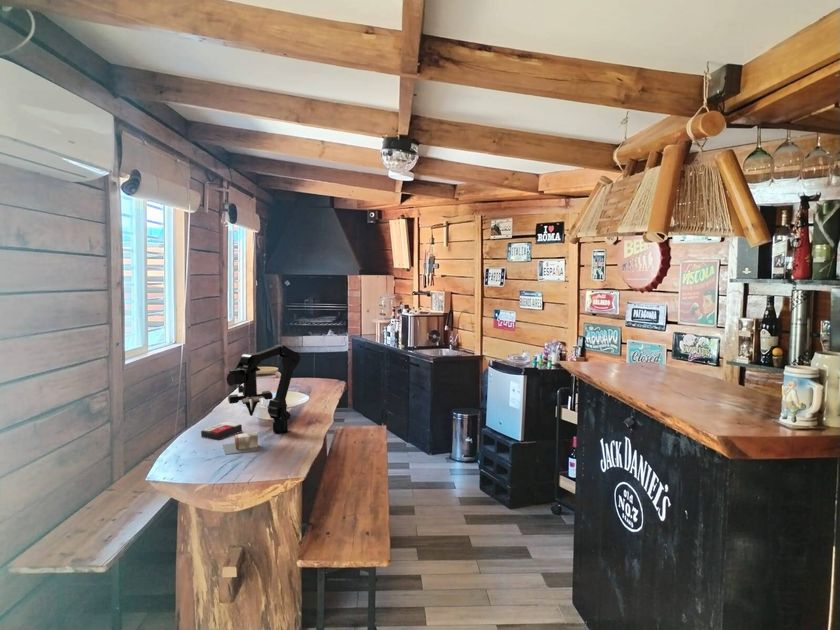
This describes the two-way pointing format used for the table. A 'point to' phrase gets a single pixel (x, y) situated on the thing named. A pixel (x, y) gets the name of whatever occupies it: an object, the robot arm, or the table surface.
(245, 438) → the block
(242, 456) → the table surface
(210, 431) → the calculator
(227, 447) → the mat
